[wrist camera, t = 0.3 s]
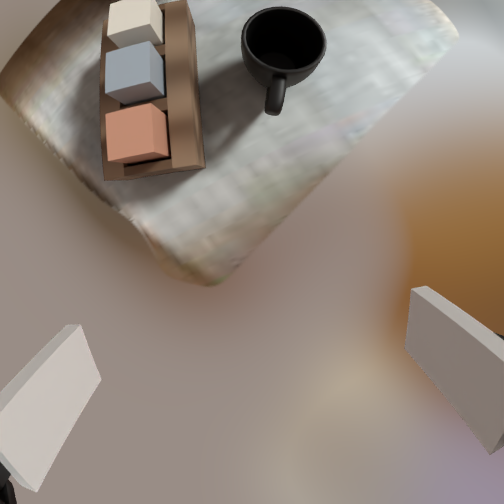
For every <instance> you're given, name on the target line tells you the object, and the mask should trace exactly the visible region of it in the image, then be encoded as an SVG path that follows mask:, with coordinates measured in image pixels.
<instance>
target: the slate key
mask: <svg viewBox="0 0 504 504" xmlns="http://www.w3.org/2000/svg"><path fill="white" fill-rule="evenodd" d="M105 93H106V94H107V95H109V96H111V97H113V98H114V99H116V100H118V101H119V102H121V103H123V104H124V105H126V106H130V105H134V104H139V103H143V102H148V101H152V100H157V99H162V98H167V85H166V63H165V62H164V61H163V59H162V58H161V56H160V55H159V53H158V52H157V51H156V49H155V48H154V46H153V45H152V43H151V42H150V41H147V42H143V43H139V44H135V45H131V46H128V47H124V48H121V49H117V50H114V51H111V52H108V53H106V66H105Z"/></svg>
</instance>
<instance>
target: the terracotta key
mask: <svg viewBox="0 0 504 504" xmlns="http://www.w3.org/2000/svg"><path fill="white" fill-rule="evenodd" d="M105 116H106V139H107V154H108V161H111V162H119V163H128V164H140V163H145V162H151V161H157V160H163V159H169V158H172V156H171V145H170V133H169V119H168V116H166V115H165V114H164V113H163V112H162V111H160V110H159V109H158V108H157V107H155V106H154V105H153V104H152V103H149V104H144V105H140V106H135V107H131V108H127V109H123V110H119V111H115V112H111V113H108V114H105Z"/></svg>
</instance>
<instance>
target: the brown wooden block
mask: <svg viewBox="0 0 504 504" xmlns="http://www.w3.org/2000/svg"><path fill="white" fill-rule="evenodd" d="M158 6H159V8H160V10H161V12H162V14H163V16H164V18H165V44H164V45H159V46H155V47H154V48H155V49H156V51H157V52H158V53H159V55H160V56H161V58H162V59H163V61H164V62H165V63H166V85H167V98H162V99H157V100H152V101H148V102H143V103H139V104H134V105H130V106H126V105H124V104H123V103H121V102H119V101H118V100H116V99H114V98H113V97H111V96H109V95H107V94H106V93H105V66H106V53H108V52H111V51H114V50H117V49H120V48H119V47H118V46H117V45H116V44H115V43H114V42H113V41H112V40H111V39H110V38H109V37H108V36H107V31H108V20H109V19H107V20H104V21H103V30H102V42H101V59H100V131H101V149H102V162H103V173H104V181H109V180H131V179H137V178H142V177H148V176H154V175H160V174H166V173H173V172H180V171H187V170H194V169H201V168H206V166H205V155H204V145H203V134H202V123H201V111H200V98H199V85H198V71H197V55H196V38H195V25H194V22H193V19H192V15H191V12H190V9H189V6H188V3H187V0H179V1H174V2H169V3H165V4H160V5H158ZM149 103H152V104H153V105H154V106H155V107H157V108H158V109H159V110H160V111H162V112H163V113H164V114H165V115H166V116H168V119H169V133H170V145H171V156H172V158H169V159H163V160H157V161H151V162H145V163H140V164H128V163H119V162H111V161H108V154H107V139H106V116H105V114H108V113H111V112H115V111H119V110H123V109H127V108H131V107H135V106H140V105H144V104H149Z"/></svg>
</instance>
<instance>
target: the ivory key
mask: <svg viewBox="0 0 504 504" xmlns="http://www.w3.org/2000/svg"><path fill="white" fill-rule="evenodd" d="M107 36H108V37H109V38H110V39H111V40H112V41H113V42H114V43H115V44H116V45H117V46H118V47H119V48H120V49H121V48H124V47H128V46H131V45H135V44H139V43H143V42H147V41H150V42H151V43H152V45H153V46H154V47H155V46H159V45H164V44H165V18H164V16H163V14H162V12H161V10H160V8H159V6H158V4H157V2H156V1H155V0H121V1H118V2H115V3H112V4H110V10H109V20H108V31H107Z"/></svg>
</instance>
